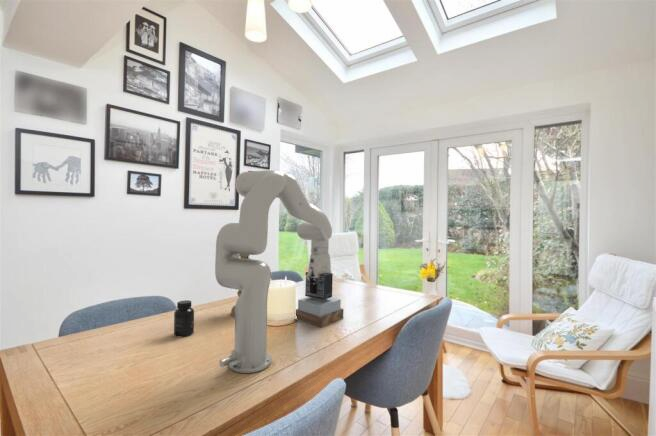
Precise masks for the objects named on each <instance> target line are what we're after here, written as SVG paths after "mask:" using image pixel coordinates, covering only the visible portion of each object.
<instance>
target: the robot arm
mask: <svg viewBox="0 0 656 436" xmlns="http://www.w3.org/2000/svg"><path fill="white" fill-rule="evenodd" d="M234 181H235V183H234V185H235V186H234V187H235V190H236V192H237V193H238V194H239V195H240V196H241V197H244V198H243V200H242V202H241V204H240V208H239V209H240V210H239V219H238V222H230V223H227V224H224V225H223V226H222V227H221V228H220V229H219V231H218V233H217V235H216V240H215V241H216V242H215V259H214V260H215V264H214V275H215V279H216V283H218V284H219V286H221V287H222V288H226V289H233V290H237V291H239V290H241V291H242V292H241V294H240V296H238V298H237V299H236V302H235V305H234V306H235V317H234V343H233V344H234V346H233V347H234V349H233V350H231V351H230V355H228V357H225V358H223V359H220V360H219V366H220V367H221V368H223V367H225V366H228V367H229V368H230V370H231V371H233V372H236V373H240V374H251V373H257V372H260V371H264V370H265V369H266V368H268V367H269V366H270V365H271V364H272V356H271V354H270V353H269V352H267V349H268V348H267V345H268V342H267V341H268V336H267V333H268V297H269V296H268V295H269V289H270V288H269V287H270V284H271V281H272V279H271V278H272V270H271V268H270V266H269V265H268V263H266V262H265V261H262V260H260V259H253V258H252V259H251V258H250V259H243V258H240V254H246V255H249V256H258V255H261V254H263V253H264V252H265V251H266V249H267V246H268V233H269V231H268V230H269V212H270V207H271V205H272V203H273V202H274V201H275V199H276V198H278V199H280V201H281V203H282V204H283V206H284V208H285V210H286V211H287V213H288V215H290V216H291V217H293V218H295V219H298V220H300V221H303V222H301V223H300V224H299V225H298V226H297V229H296V233H297V236H298V237H299V238H300V239H301V240H303V241H304V240H305V241H310V242H311V243H310V244H311V245H310V255H309V263H308V271H307V272H308V274H307V275H306V274H305V279H306V278H307V279H308V281H309V284H310V293H313V294H316V293H317V284H316V281H317V278H320V274H324V273H333V272H332V269H331V268H332V265H331V263H332V262H331V257H330V253H329V242H330V241H329V240H330V239H331V237H332V236H333V235H332V234H333V227H332V225H331V222H330V220H329V217H328V216H327V215H326V213H325V212H324V211H322V210H321V209H320V208H318V207H316V206H315V205H314V204H313V203H310V202H309V201H308V199H307V197H306V195H305V193H304V192H303V190H302V187H301V186H300V184H299V182H298V180H297V178H296V177H295V176H293V175H292V174H290V173H284V172H282V171H279V170H273V169H272V170H270V169H269V170H254V171H252V170H251V171H244V172H243V171H242V172H241V173H240V174H238V175H237V176H236V179H235V180H234ZM313 275H314V276H313ZM313 278H314V280H313Z"/></svg>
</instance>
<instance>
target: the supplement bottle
mask: <svg viewBox="0 0 656 436" xmlns="http://www.w3.org/2000/svg"><path fill="white" fill-rule="evenodd" d="M176 305H177V306H176V308H177V309H175V311H174V313H173V314H174V315H173V334H174V336H175V337H177V338H183V337H189V336H192V335H193V334H194V331H195V309H194V308H193V307H192V300H181V301H180V300H179V301H177V304H176Z"/></svg>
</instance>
